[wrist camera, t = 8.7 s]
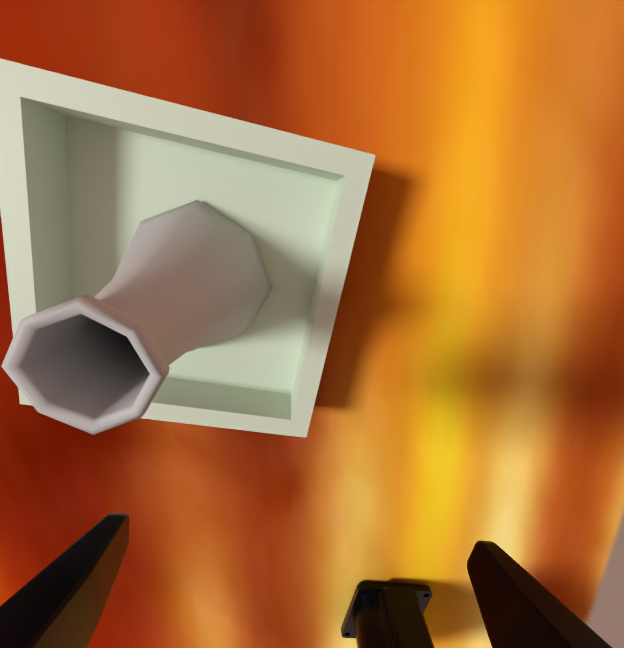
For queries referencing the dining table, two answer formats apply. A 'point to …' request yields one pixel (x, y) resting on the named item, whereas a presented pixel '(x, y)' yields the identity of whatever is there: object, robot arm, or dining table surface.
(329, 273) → the tray
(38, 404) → the flask
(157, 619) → the dining table surface
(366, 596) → the robot arm
